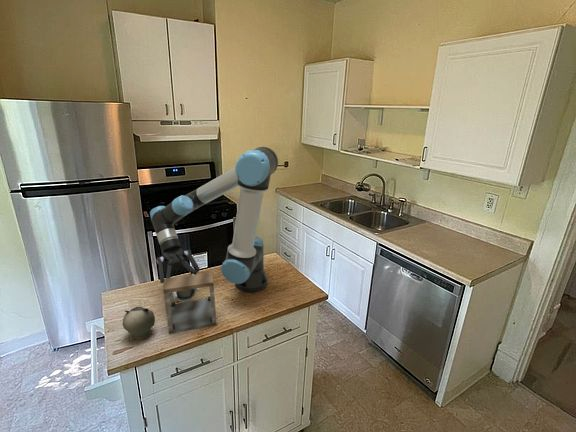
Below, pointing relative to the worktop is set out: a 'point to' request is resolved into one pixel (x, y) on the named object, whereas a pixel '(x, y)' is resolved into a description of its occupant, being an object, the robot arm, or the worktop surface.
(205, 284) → the shelf
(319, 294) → the worktop surface
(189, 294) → the ceramic mug
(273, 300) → the worktop surface
